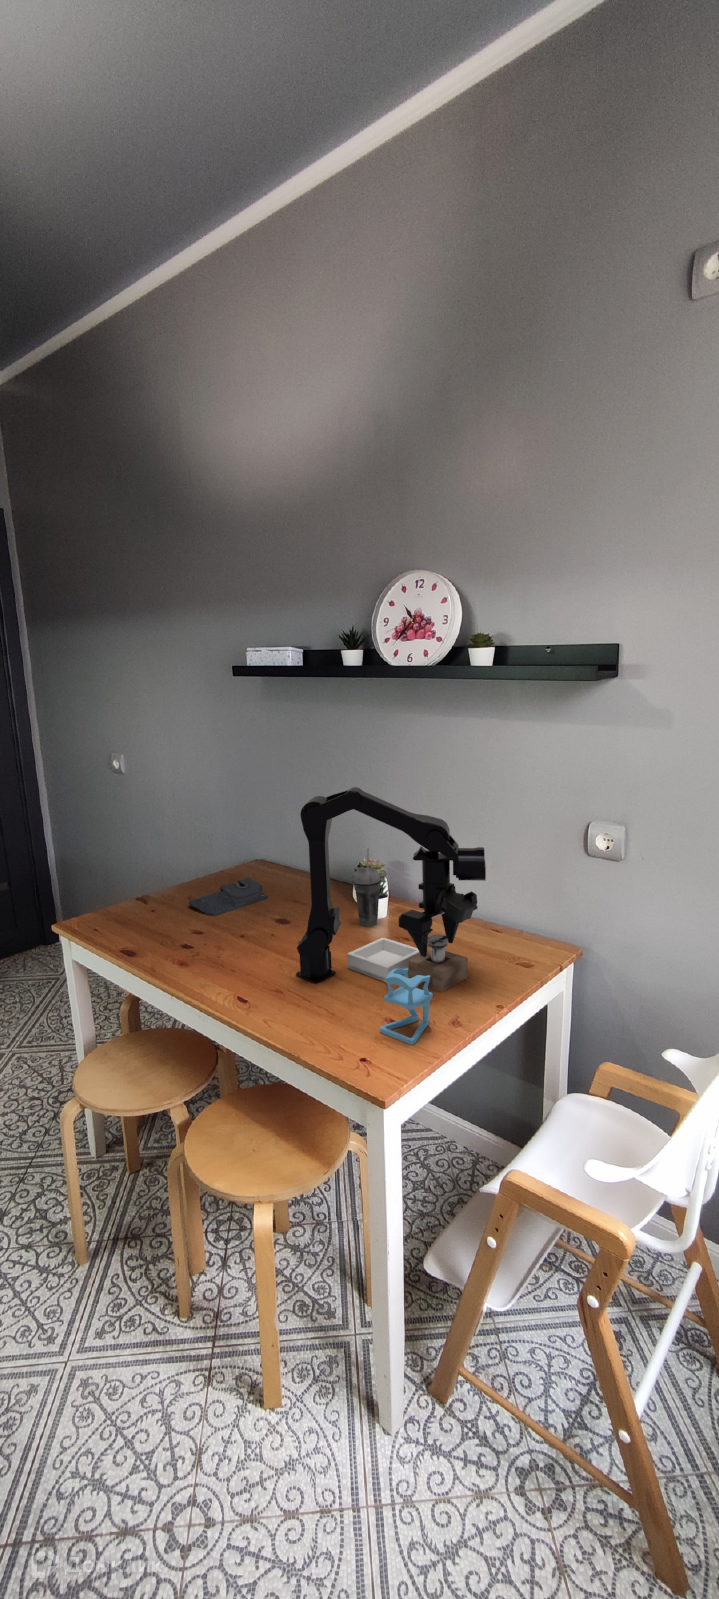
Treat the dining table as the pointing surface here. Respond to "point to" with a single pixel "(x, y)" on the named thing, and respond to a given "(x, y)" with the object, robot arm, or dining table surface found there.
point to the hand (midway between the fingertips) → (437, 949)
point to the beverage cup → (367, 893)
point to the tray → (381, 958)
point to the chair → (407, 1002)
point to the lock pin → (437, 948)
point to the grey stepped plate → (230, 897)
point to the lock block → (440, 970)
